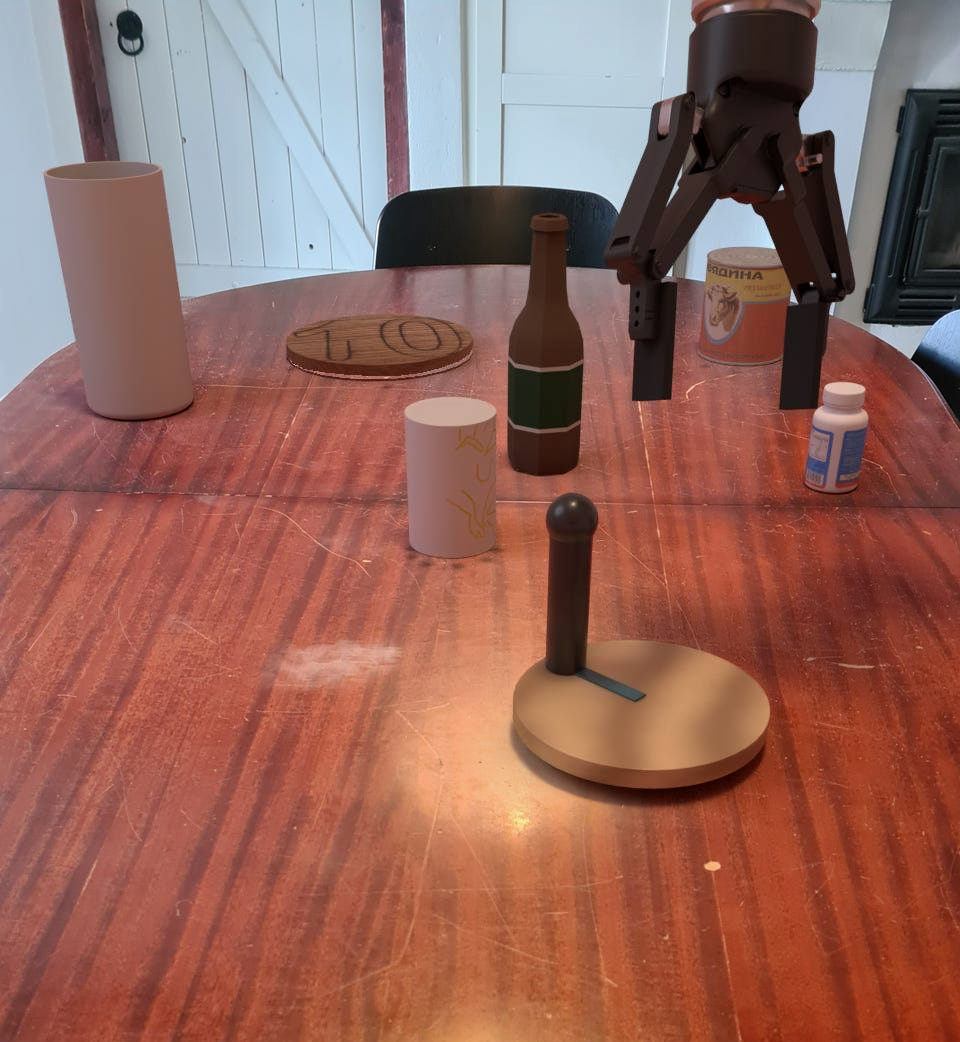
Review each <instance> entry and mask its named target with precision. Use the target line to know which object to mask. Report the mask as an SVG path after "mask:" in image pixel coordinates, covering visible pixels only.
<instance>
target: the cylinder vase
mask: <svg viewBox="0 0 960 1042" xmlns="http://www.w3.org/2000/svg"><path fill="white" fill-rule="evenodd" d="M42 176H43V180H44V186H45V190H46V191H45V192H46V195H47V201H48V205H49V212H50V217H51V221H52V227H53V232H54V237H55V243H56V247H57V252H58V258H59V263H60V267H61V273H62V279H63V284H64V289H65V295H66V299H67V304H68V305H67V306H68V309H69V314H70V319H71V325H72V331H73V335H74V341H75V345H76V349H77V350H76V351H77V356H78V361H79V367H80V371H81V377H82V382H83V386H84V392H85V397H86V403H87V405H88V407H89V409H90V410H91V411H92V412H93V413H95V414H97V415H99V416H101V417H104V418H107V419H108V418H109V419H114V420H125V421H127V420H128V421H137V420H138V421H139V420H150V419H157V418H163V417H166V416H170V415H173V414H176V413H179V412H181V411H183V410H184V409H186V408H188V407H189V406H190V405H191V404H192V402H193V401H194V398H195V392H194V386H193V385H194V384H193V379H192V378H193V377H192V371H191V365H190V357H189V349H188V343H187V336H186V328H185V322H184V321H185V320H184V315H183V306H182V300H181V293H180V286H179V279H178V272H177V266H176V257H175V249H174V243H173V237H172V229H171V222H170V216H169V215H170V214H169V208H168V201H167V194H166V187H165V180H164V172H163V167H162V166H161V165H159V164H156V163H151V162H144V161H143V162H142V161H132V160H131V161H127V160H125V161H124V160H111V161H110V160H108V161H105V160H103V161H88V162H80V163H78V162H77V163H71V164H64V165H58V166H54V167H50V168H48V169H46V170H44V171H43V172H42Z"/></svg>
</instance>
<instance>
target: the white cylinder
mask: <svg viewBox="0 0 960 1042" xmlns="http://www.w3.org/2000/svg"><path fill="white" fill-rule="evenodd" d="M403 413H404V414H403V416H404V439H405V440H404V441H405V443H404V444H405V465H406V489H407V493H406V494H407V513H408V538H409V539H408V540H409V545H410V546H411V548H412V549H413V550H414V551H416V552H418V553H420V554H422V555H425V556H429V557H433V558H440V559H441V558H443V559H462V558H469V557H474V556H478V555H482V554H485V553H486V552H488V551H489V550H491V549H492V548H493V547H494V546H495V545H496V543H497V408H496V407H495V405H493V404H491V403H490V402H488V401H484V400H483V399H482V400H481V399H478V398H472V397H464V396H439V397H431V398H425V399H422V400H418V401H415V402H412V403H410V404H409V405H407V406H406V407H405V409H404V411H403Z"/></svg>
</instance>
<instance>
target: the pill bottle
mask: <svg viewBox="0 0 960 1042" xmlns="http://www.w3.org/2000/svg"><path fill="white" fill-rule="evenodd" d="M823 387H824V388H823V393H822V397H821V399H822V403H823V405H821V406H820V407H818V409H815V411H814V413H813V415H812V421H811V428H810V435H809V444H808V451H807V458H806V464H805V471H804V483H805V485H806V486H807V487H809V488H810V489H811V490H815V491H817V492H822V493H828V494H843V493H847V492H851V491H853V490H855V488H857V486H858V485H859V480H860V474H861V469H862V468H861V467H862V462H863V456H864V450H865V446H866V445H865V444H866V439H867V432H868V427H869V414H868V413H867V411H866V410H865V409H863V408H862V406H863V405H864V404H865V398H866V390H867V389H866V387H865V386H863V385H862V384H859V383H855V382H848V381H836V382H835V381H834V382H830V383H827V384H826V385H824V386H823Z"/></svg>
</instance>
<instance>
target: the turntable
mask: <svg viewBox="0 0 960 1042" xmlns="http://www.w3.org/2000/svg"><path fill="white" fill-rule="evenodd" d="M598 526H599V511H598V509H597V507H596V505H595V503H594V502H593V500H591V498H589V497H588V496H587V495H585V494H582V493H579V492H566V493H563V494H561V495H559V496H557V497H556V498H554V499H553V501H552V502H551V503H550V504H549V506H548V508H547V511H546V514H545V528H546V531H547V532H548V537H549V538H548V566H547V567H548V571H547V573H548V574H547V603H546V605H547V606H546V628H545V629H546V634H545V656H544V657H543V658H541V659H540V660H539V661H537V662H535V663H533V665H531V666H530V667H528V669H527V670H525V672H524V673H523V674H522V675H521V676H520V677H519V679H518V681H517V682H516V684H515V687H514V689H513V692H512V723H513V726H514V730H515V732H516V734H517V737H518V738H519V740H521V742H522V744H523V745H524V746H525V747H526V748H527V749H528V750H529V751H530V752H531V753H533V754H534V755H535V756H537V757H538V758H539V759H540V760H541V761H543V762H545V763H547V764H548V765H550V766H552V767H553V768H555V769H558V770H560V771H562V772H565V773H566V774H569V775H572V776H574V777H577V778H580V779H584V780H587V781H591V782H593V783H594V782H595V783H599V784H604V785H609V786H615V787H623V788H632V789H656V790H657V789H675V788H682V787H689V786H694V785H699V784H704V783H707V782H711V781H714V780H718V779H720V778H723V777H725V776H727V775H730V774H732V773H734V772H736V771H738V770H739V769H741V768H743V767H745V766H747V764H748V763H749V762H751V761H752V760H754V758H756V756H757V755H758V754H759V753H760V751H761V750H762V748H763V746H764V745H765V743H766V740H767V736H768V731H769V726H770V719H771V706H770V705H771V704H770V702H769V698H768V696H767V695H766V692H765V690H764V689H763V687H762V686H761V685H760V684H759V683H758V681H756V680H755V678H753V677H752V676H751V675H750V674H749V673H747V671H745V670H743V669H742V668H740V667H739V666H737V665H735V664H734V663H732V662H730V661H728V660H726V659H724V658H721V657H719V656H717V655H715V654H712V653H709V652H706V651H704V650H701V649H697V648H694V647H689V646H685V645H682V644H677V643H669V642H662V641H656V640H643V639H642V640H641V639H622V640H621V639H620V640H619V639H617V640H616V639H615V640H605V641H595V642H590V643H588V639H589V638H588V636H589V621H590V620H589V619H590V603H591V602H590V601H591V587H592V586H591V583H592V567H593V551H594V550H593V547H594V536H595V534H596V532H597V530H598Z"/></svg>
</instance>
